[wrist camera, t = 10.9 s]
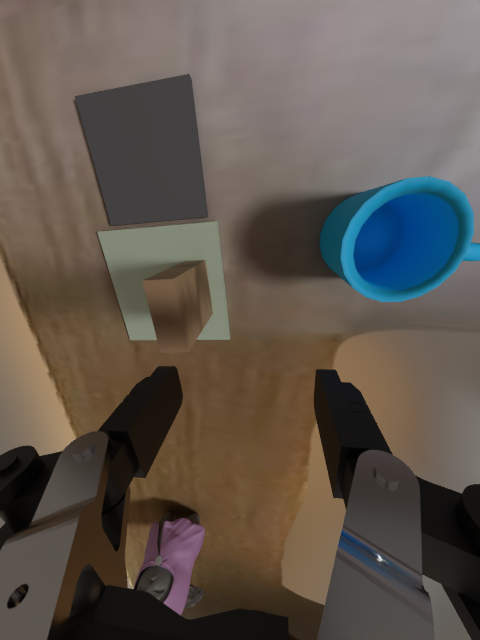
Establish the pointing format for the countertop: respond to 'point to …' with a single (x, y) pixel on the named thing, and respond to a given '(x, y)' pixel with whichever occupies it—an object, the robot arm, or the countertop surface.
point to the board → (156, 256)
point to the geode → (193, 596)
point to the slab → (179, 304)
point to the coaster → (146, 150)
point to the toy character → (171, 559)
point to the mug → (400, 238)
